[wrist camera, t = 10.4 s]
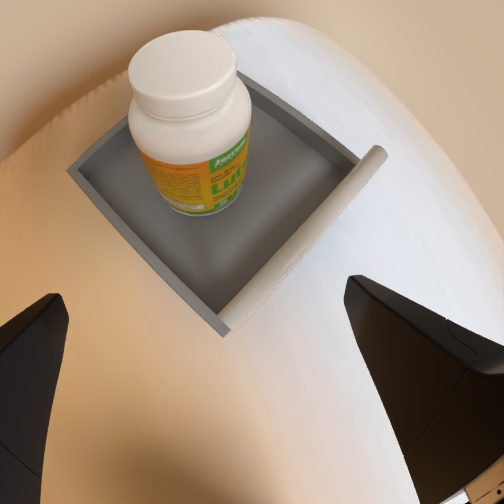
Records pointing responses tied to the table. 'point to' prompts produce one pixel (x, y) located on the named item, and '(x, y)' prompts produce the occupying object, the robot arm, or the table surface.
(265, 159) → the grey toy cart
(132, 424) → the table surface
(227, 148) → the supplement bottle
